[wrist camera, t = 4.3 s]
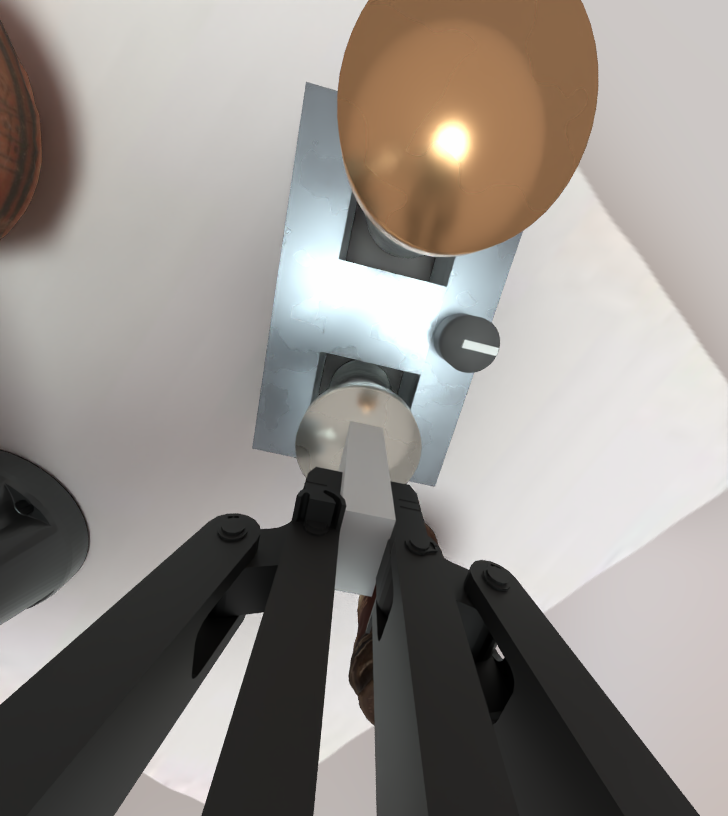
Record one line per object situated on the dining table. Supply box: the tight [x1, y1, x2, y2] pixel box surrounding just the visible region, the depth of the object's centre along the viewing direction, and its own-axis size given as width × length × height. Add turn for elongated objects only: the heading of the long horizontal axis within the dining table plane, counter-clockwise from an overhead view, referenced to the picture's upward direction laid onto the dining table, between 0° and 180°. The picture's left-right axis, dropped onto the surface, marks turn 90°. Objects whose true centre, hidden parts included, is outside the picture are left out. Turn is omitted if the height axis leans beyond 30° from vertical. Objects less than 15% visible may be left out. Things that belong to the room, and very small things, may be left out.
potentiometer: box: [434, 313, 500, 373], centre depth 18 cm, size 3×3×3 cm
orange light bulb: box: [337, 0, 598, 258], centre depth 13 cm, size 6×6×10 cm
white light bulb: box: [295, 360, 422, 484], centre depth 21 cm, size 6×6×10 cm
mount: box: [252, 82, 523, 486], centre depth 22 cm, size 12×19×6 cm, turn 167°
